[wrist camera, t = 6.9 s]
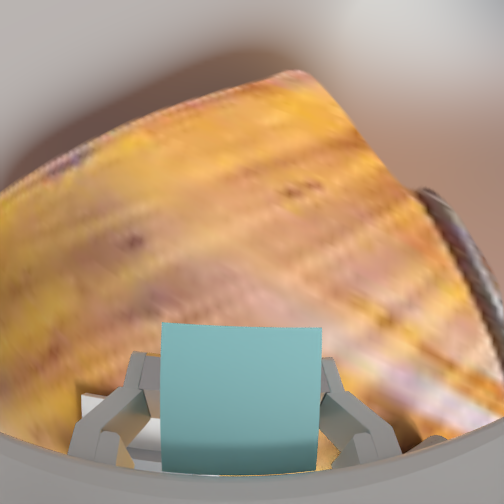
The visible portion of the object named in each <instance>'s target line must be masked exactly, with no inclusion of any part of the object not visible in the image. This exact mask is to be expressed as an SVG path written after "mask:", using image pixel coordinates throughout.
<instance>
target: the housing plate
mask: <svg viewBox="0 0 504 504" xmlns="http://www.w3.org/2000/svg"><path fill="white" fill-rule="evenodd" d="M106 397H108V396H102V395H96V394H91V393H84V394H82V395H81V404H82V418H83V417H84V416H85V415H86V414H88V413H89V412H90V411H91V410H92V409H93V408H95V407H96V406H97V405H98V404H99V403H101V402H102V401H103V400H104V399H105V398H106ZM126 449H127V451H128V453H129V455H130V457H131V458H132V460H133V462H134V464H135V467H134V469H138V470H145V471H153V472H161V473H171V474H182V475H198V476H219V475H199V474H184V473H172V472H162V462H161V434H160V419H158V418H151V420H150V421H149V422H148V423H147V424H146V425H145V427H144V428H143V429H142V430H141V431H140V432H139V434H138V435H137V436H136V437H135V438H134V439H133V441H132V442H131V443H130V444H129V445H128V446H127V448H126Z"/></svg>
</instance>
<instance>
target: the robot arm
mask: <svg viewBox="0 0 504 504" xmlns="http://www.w3.org/2000/svg"><path fill="white" fill-rule="evenodd" d="M160 363H161V354H155V353H145V352H137V351H133V353H132V354H131V357H130V361H129V365H128V369H127V373H126V377H125V381H124V385H123V387H118V388H117V389H116V390H115V391H113V392H112V393H111V394H110V395H109V396H108V397H106V398H105V399H104V400H103V401H102V402H101V403H99V404H98V405H97V406H96V407H95V408H93V409H92V410H91V411H90V412H89V413H88V414H86V415H85V416H84V417H83V418H82V419H81V420H79V421H78V422H77V423H76V424H75V428H74V431H73V435H72V439H71V442H70V446H69V450H68V454H63V453H59V452H56V451H53V450H49V449H46V448H43V447H40V446H37V445H34V444H31V443H28V442H25V441H23V440H20V439H17V438H14V437H12V436H9V435H7V434H4V433H2V432H0V504H504V417H502V418H500V419H498V420H496V421H494V422H492V423H489V424H487V425H485V426H483V427H480V428H478V429H475V430H473V431H471V432H468V433H466V434H463V435H460V436H458V437H455V438H452V439H450V440H447V441H444V442H441V443H438V444H435V445H432V446H429V447H426V448H423V449H419V450H416V451H412V452H409V453H405V454H402V452H401V449H400V446H399V444H398V441H397V438H396V435H395V433H394V430H393V427H392V426H391V425H390V424H388V423H387V422H386V421H384V420H383V419H382V418H381V417H380V416H378V415H377V414H376V413H375V412H373V411H372V410H371V409H370V408H368V407H367V406H366V405H365V404H363V403H362V402H361V401H360V400H359V399H357V398H356V397H355V396H354V395H353V394H351V393H350V392H349V391H345V390H344V387H343V384H342V381H341V378H340V376H339V373H338V370H337V367H336V364H335V361H334V359H333V358H332V357H327V358H321V392H320V415H319V429H320V430H321V431H322V432H323V433H324V434H325V435H326V437H327V438H328V439H329V440H330V441H331V442H332V443H333V444H334V445H335V446H336V448H337V449H338V450H339V451H340V452H341V453H340V454H339V456H338V457H337V458H336V459H335V461H334V462H333V463H332V464H331V466H332V469H329V470H322V471H314V472H305V473H296V474H284V475H269V476H198V475H182V474H171V473H161V472H153V471H145V470H138V469H134V467H135V464H134V462H133V460H132V458H131V457H130V455H129V453H128V451H127V449H126V448H127V446H128V445H129V444H130V443H131V442H132V441H133V439H134V438H135V437H136V436H137V435H138V434H139V432H140V431H141V430H142V429H143V428H144V427H145V425H146V424H147V423H148V422H149V421H150V420H151V418H158V419H160Z"/></svg>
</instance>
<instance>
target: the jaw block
mask: <svg viewBox="0 0 504 504" xmlns="http://www.w3.org/2000/svg"><path fill="white" fill-rule="evenodd" d="M321 354H322V328H274V327H235V326H212V325H194V324H178V323H164V322H162V334H161V363H160V434H161V462H162V472H172V473H184V474H199V475H268V474H284V473H296V472H305V471H314V470H316V461H317V448H318V433H319V415H320V392H321Z"/></svg>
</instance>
